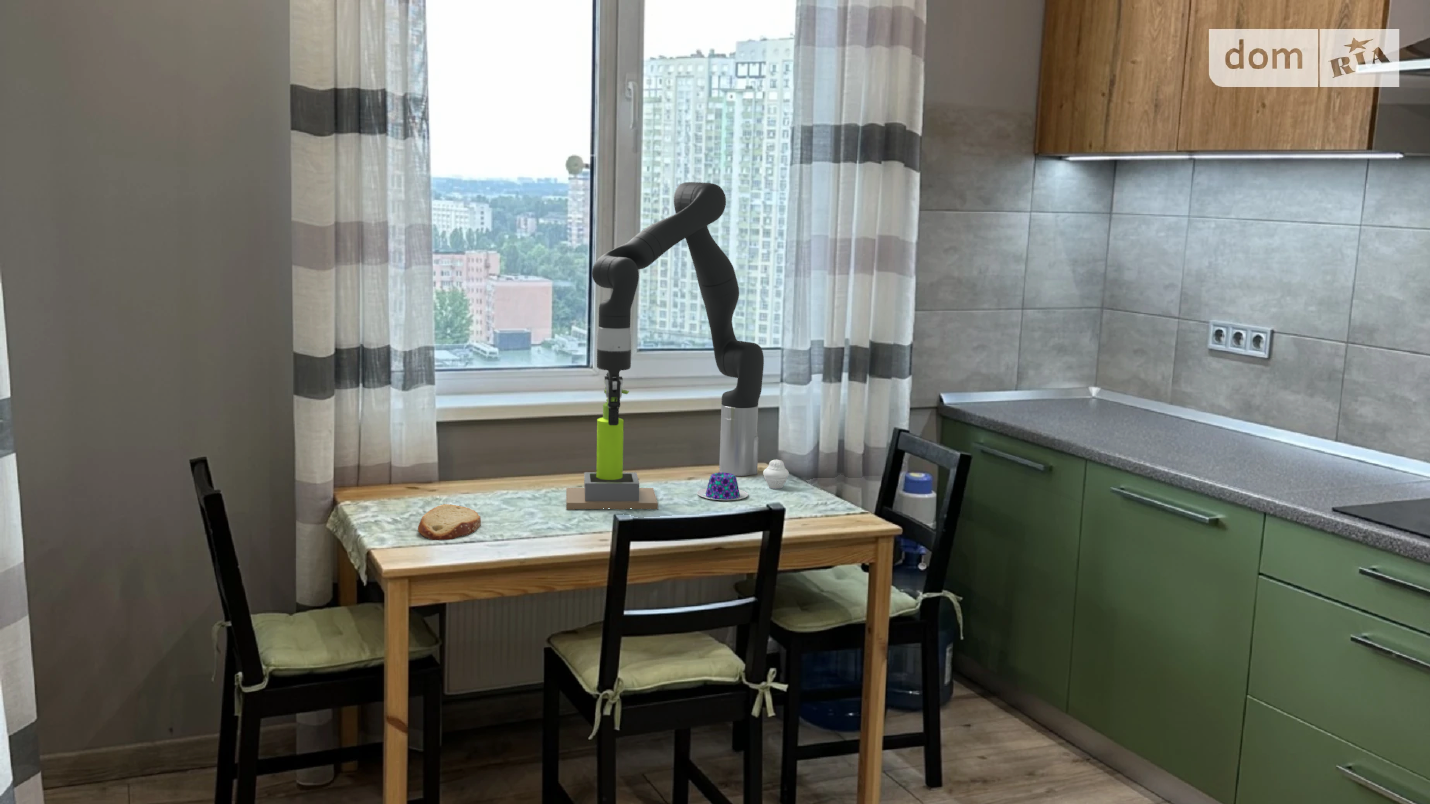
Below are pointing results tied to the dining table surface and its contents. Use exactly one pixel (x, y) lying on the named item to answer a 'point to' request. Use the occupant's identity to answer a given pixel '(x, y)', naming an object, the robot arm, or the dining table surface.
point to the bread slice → (448, 522)
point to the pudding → (722, 488)
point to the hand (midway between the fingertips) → (612, 422)
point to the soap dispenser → (609, 446)
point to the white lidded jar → (776, 474)
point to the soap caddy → (611, 494)
